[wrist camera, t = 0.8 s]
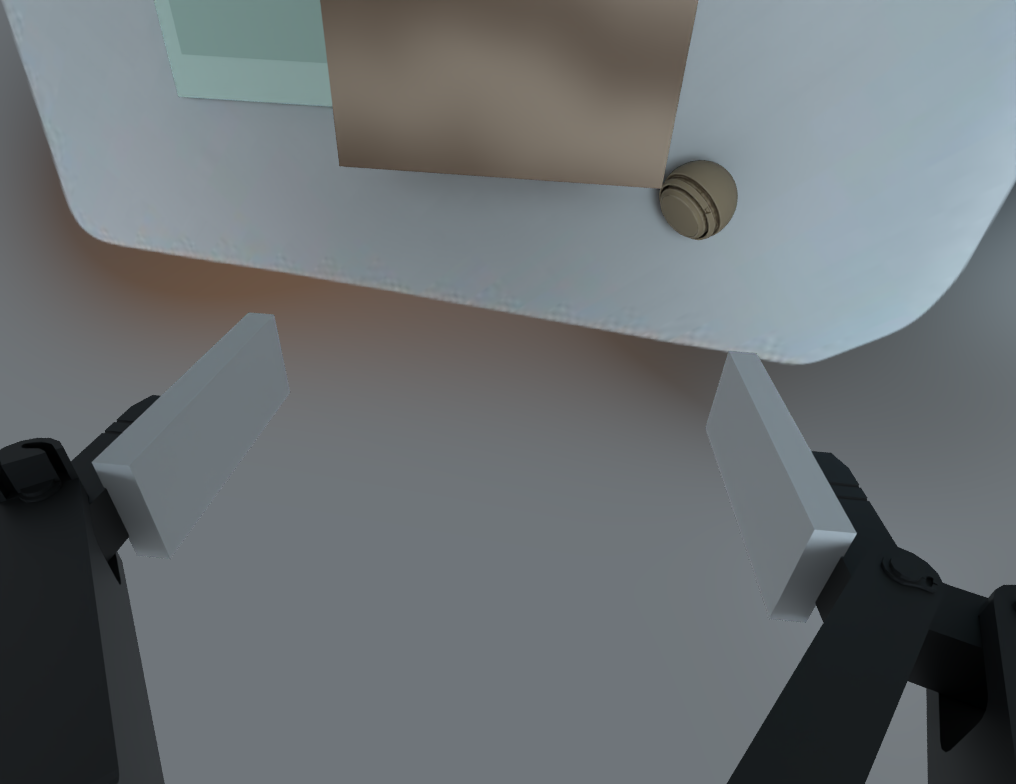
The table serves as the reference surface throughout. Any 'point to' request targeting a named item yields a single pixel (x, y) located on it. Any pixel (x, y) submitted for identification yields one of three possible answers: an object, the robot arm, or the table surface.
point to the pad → (247, 50)
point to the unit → (508, 86)
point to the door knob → (698, 199)
